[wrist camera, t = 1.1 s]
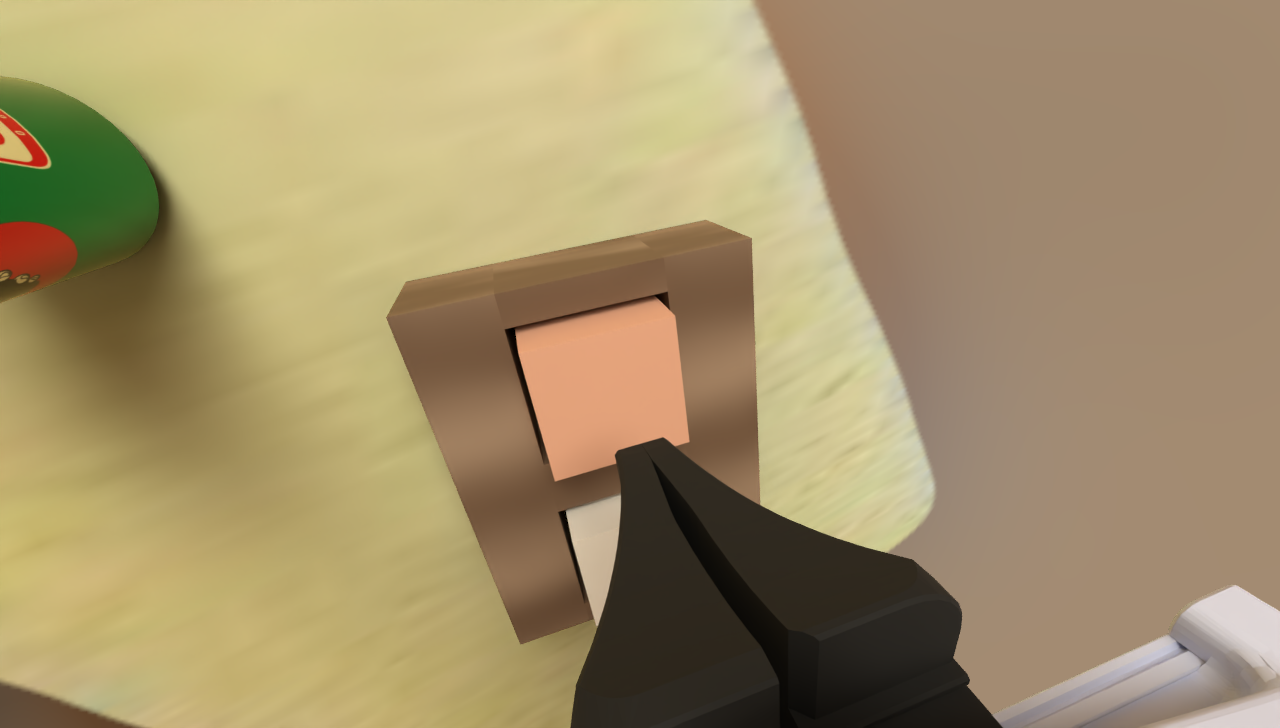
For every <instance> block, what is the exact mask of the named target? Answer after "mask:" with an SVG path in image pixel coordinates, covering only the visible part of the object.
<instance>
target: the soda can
mask: <svg viewBox="0 0 1280 728" xmlns="http://www.w3.org/2000/svg"><path fill="white" fill-rule="evenodd" d="M158 214H159V200H158V192H157V189H156V185H155V182H154V179H153V177H152V175H151V172H150V170H149V168H148V166H147V164H146V163H145V161H144V160H143V158H142V156H141V155H140V153H139V152H138V150H137V149H136V148H135V147H134V146H133V144H132V143H131V142H130V141H129V140H128V139H127V137H126V136H125V135H124V134H123V133H122V132H120V131H119V130H118V129H117V128H116V127H115V126H114V125H113V124H112V123H111V122H110V121H108V120H107V119H106V118H104V117H103V116H102V115H100V114H99V113H98V112H96V111H95V110H93V109H92V108H90V107H88V106H87V105H85V104H84V103H82V102H80V101H79V100H77V99H75V98H73V97H71V96H69V95H66V94H64V93H62V92H60V91H58V90H56V89H53V88H50V87H47V86H44V85H41V84H39V83H35V82H31V81H27V80H22V79H18V78H11V77H3V76H0V303H2V302H5V301H8V300H11V299H14V298H17V297H20V296H23V295H25V294H28V293H31V292H34V291H37V290H40V289H43V288H45V287H48V286H51V285H54V284H57V283H60V282H63V281H66V280H68V279H71V278H74V277H77V276H80V275H83V274H86V273H89V272H91V271H94V270H97V269H100V268H103V267H106V266H109V265H111V264H114V263H117V262H119V261H122V260H124V259H126V258H129V257H130V256H132V255H133V254H135V253H136V252H137V251H139V250H140V249H141V248H142V247H143V246H144V245H145V244H146V243H147V242H148V240H149V239H150V237H151V236H152V234H153V232H154V230H155V227H156V224H157V221H158Z"/></svg>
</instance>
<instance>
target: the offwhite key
mask: <svg viewBox="0 0 1280 728" xmlns="http://www.w3.org/2000/svg"><path fill="white" fill-rule="evenodd" d="M620 512H621V493H619V494H615V495H612V496H609V497H606V498H602V499H599V500H596V501H592V502H589V503H586V504H583V505H579V506H576V507H573V508H570V509H566V514H567V519H568V524H569V528H570V533H571V538H572V543H573V546H574V550H575V553H576V557H577V560H578V564H579V567H580V571H581V574H582V578H583V581H584V585H585V588H586V592H587V595H588V599H589V602H590V606H591V609H592V613H593V616H594V620H595V623H596V626H598V624H599V621H600V618H601V615H602V612H603V608H604V605H605V601H606V598H607V594H608V590H609V585H610V581H611V576H612V572H613V567H614V562H615V556H616V550H617V543H618V535H619V524H620Z"/></svg>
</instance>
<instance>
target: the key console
mask: <svg viewBox="0 0 1280 728" xmlns="http://www.w3.org/2000/svg"><path fill="white" fill-rule="evenodd" d="M651 295H654V296H655V297H656V298H657V299H659V300H660V301H661V302H662V303H663V304H664V305H665V306H666V307H667V308H668V309H669V310H670V311H671V312H672V313H673V314H674V315H675V318H676V327H677V336H678V345H679V353H680V362H681V371H682V380H683V389H684V398H685V406H686V415H687V424H688V433H689V442H688V443H684V444H681V445H678V446H675V447H676V448H678V449H679V450H680V451H681V452H682V453H684V454H685V455H686V456H687V457H689V458H690V459H691V460H692V461H694V462H695V463H696V464H698V465H699V466H700V467H702V468H703V469H704V470H706V471H707V472H709V473H710V474H711V475H713V476H714V477H716V478H717V479H718V480H720V481H721V482H723V483H724V484H726V485H727V486H729V487H730V488H732V489H734V490H735V491H737V492H738V493H740V494H742V495H743V496H745V497H747V498H748V499H750V500H752V501H753V502H755V503H757V504H759V505H760V483H759V452H758V421H757V390H756V359H755V327H754V296H753V265H752V238H750V237H747V236H745V235H742V234H740V233H737V232H735V231H732V230H730V229H727V228H725V227H722V226H720V225H717V224H715V223H712V222H710V221H707V220H704V221H699V222H695V223H690V224H685V225H680V226H675V227H670V228H665V229H661V230H656V231H651V232H646V233H641V234H636V235H632V236H627V237H622V238H617V239H612V240H607V241H602V242H598V243H593V244H588V245H583V246H578V247H573V248H568V249H564V250H559V251H554V252H549V253H544V254H539V255H535V256H530V257H525V258H520V259H515V260H510V261H505V262H501V263H496V264H491V265H486V266H481V267H476V268H472V269H467V270H462V271H457V272H452V273H447V274H442V275H438V276H433V277H428V278H423V279H418V280H413V281H408V282H406V283H405V285H404V286H403V288H402V290H401V292H400V294H399V296H398V297H397V299H396V301H395V303H394V305H393V306H392V308H391V310H390V312H389V314H388V315H387V317H386V318H387V321H388V323H389V325H390V328H391V330H392V333H393V335H394V338H395V340H396V343H397V345H398V347H399V350H400V352H401V355H402V357H403V360H404V362H405V364H406V367H407V369H408V372H409V374H410V377H411V379H412V381H413V384H414V386H415V389H416V391H417V394H418V396H419V398H420V401H421V403H422V406H423V408H424V411H425V413H426V415H427V418H428V420H429V423H430V425H431V428H432V430H433V433H434V435H435V437H436V440H437V442H438V445H439V447H440V450H441V452H442V454H443V457H444V459H445V462H446V464H447V467H448V469H449V471H450V474H451V476H452V479H453V481H454V484H455V486H456V488H457V491H458V493H459V496H460V498H461V501H462V503H463V505H464V508H465V510H466V513H467V515H468V518H469V520H470V522H471V525H472V527H473V530H474V532H475V535H476V537H477V540H478V542H479V544H480V547H481V549H482V552H483V554H484V557H485V559H486V561H487V564H488V566H489V569H490V571H491V574H492V576H493V578H494V581H495V583H496V586H497V588H498V591H499V593H500V595H501V598H502V600H503V603H504V605H505V608H506V610H507V612H508V615H509V617H510V620H511V622H512V625H513V627H514V630H515V632H516V634H517V637H518V639H519V642H520V644H523V643H526V642H529V641H532V640H535V639H538V638H540V637H543V636H546V635H549V634H552V633H555V632H558V631H560V630H563V629H566V628H569V627H572V626H575V625H577V624H580V623H583V622H586V621H589V620H592V619H594V616H593V613H592V609H591V606H590V602H589V599H588V595H587V592H586V588H585V585H584V581H583V578H582V574H581V571H580V567H579V564H578V560H577V557H576V553H575V550H574V546H573V543H572V539H571V536H570V532H569V529H568V525H567V522H566V518H565V515H564V511H563V510H566V509H570V508H573V507H576V506H579V505H583V504H586V503H589V502H592V501H596V500H599V499H602V498H606V497H609V496H612V495H615V494H619V493H621V484H620V479H619V474H618V469H617V464H613V465H609V466H606V467H603V468H599V469H596V470H592V471H589V472H586V473H582V474H579V475H575V476H572V477H569V478H565V479H562V480H558V481H555V480H554V476H553V473H552V469H551V466H550V462H549V459H548V455H547V452H546V448H545V445H544V441H543V438H542V434H541V431H540V427H539V424H538V420H537V417H536V413H535V410H534V406H533V403H532V399H531V396H530V392H529V389H528V385H527V382H526V378H525V375H524V371H523V368H522V364H521V361H520V357H519V354H518V350H517V347H516V343H515V340H514V336H513V333H512V329H511V328H512V327H517V326H521V325H525V324H530V323H534V322H538V321H543V320H547V319H551V318H556V317H560V316H564V315H568V314H573V313H577V312H581V311H586V310H590V309H594V308H599V307H603V306H607V305H612V304H616V303H620V302H625V301H629V300H633V299H638V298H642V297H646V296H651Z"/></svg>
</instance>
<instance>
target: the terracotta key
mask: <svg viewBox="0 0 1280 728" xmlns="http://www.w3.org/2000/svg"><path fill="white" fill-rule="evenodd" d="M515 332H516V339H517V347H518V354H519V357H520V361H521V364H522V368H523V371H524V375H525V378H526V382H527V385H528V389H529V392H530V396H531V399H532V403H533V406H534V410H535V413H536V417H537V420H538V424H539V427H540V431H541V434H542V438H543V441H544V445H545V448H546V452H547V455H548V459H549V462H550V466H551V469H552V473H553V476H554V480H555V481H558V480H562V479H565V478H569V477H572V476H575V475H579V474H582V473H586V472H589V471H592V470H596V469H599V468H603V467H606V466H609V465H613V464H616V459H615V454H616V452H617V451H618V450H620V449H624V448H627V447H631V446H634V445H638V444H641V443H644V442H648V441H651V440H655V439H658V438H662V437H664V438H665V439H667V440H668V441H669V442H671V443H672V444H673V445H674V446H678V445H681V444H684V443H688V442H689V433H688V424H687V415H686V406H685V398H684V389H683V380H682V371H681V362H680V353H679V345H678V336H677V327H676V318H675V315H674V314H673V313H672V312H671V311H670V310H669V309H668V308H667V307H666V306H665V305H664V304H663V303H662V302H661V301H660V300H659V299H657V298H656V297H655V296H654V295H651V296H646V297H642V298H638V299H633V300H629V301H625V302H620V303H616V304H612V305H607V306H603V307H599V308H594V309H590V310H586V311H581V312H577V313H573V314H568V315H564V316H560V317H556V318H551V319H547V320H543V321H538V322H534V323H530V324H525V325H521V326H517V327H515Z"/></svg>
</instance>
